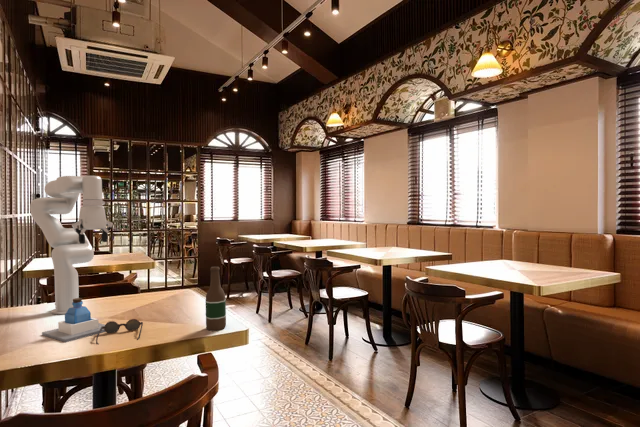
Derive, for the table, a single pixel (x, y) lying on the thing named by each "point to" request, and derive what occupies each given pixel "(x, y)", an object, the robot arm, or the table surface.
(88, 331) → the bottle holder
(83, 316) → the perfume bottle
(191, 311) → the table surface
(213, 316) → the beer bottle
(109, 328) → the eyeglasses
